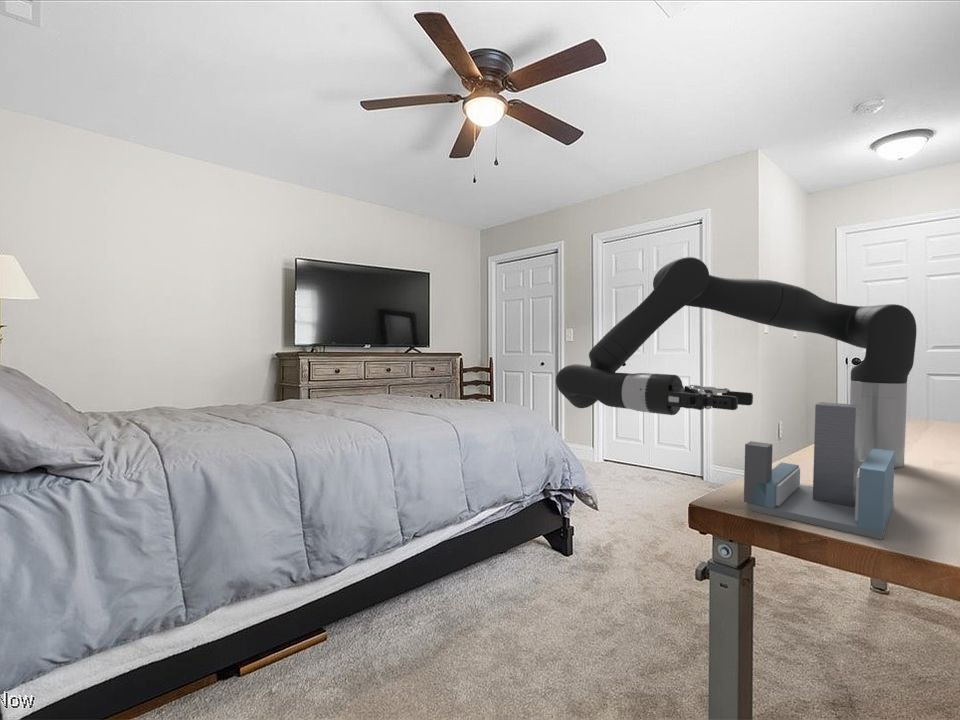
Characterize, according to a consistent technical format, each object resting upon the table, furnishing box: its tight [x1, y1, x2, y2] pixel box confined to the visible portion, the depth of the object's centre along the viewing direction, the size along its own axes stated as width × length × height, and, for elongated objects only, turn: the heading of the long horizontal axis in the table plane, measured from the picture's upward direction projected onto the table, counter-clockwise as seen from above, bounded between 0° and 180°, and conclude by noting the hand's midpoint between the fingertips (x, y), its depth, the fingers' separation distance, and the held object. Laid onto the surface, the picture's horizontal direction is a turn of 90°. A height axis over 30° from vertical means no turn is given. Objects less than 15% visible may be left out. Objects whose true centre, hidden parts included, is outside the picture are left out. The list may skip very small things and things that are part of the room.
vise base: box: [746, 448, 895, 541], centre depth 74 cm, size 17×16×9 cm
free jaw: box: [743, 440, 801, 508], centre depth 78 cm, size 16×4×9 cm, turn 136°
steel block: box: [812, 401, 860, 507], centre depth 75 cm, size 4×5×15 cm
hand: (745, 401), depth 81 cm, fingers open, 8 cm apart
